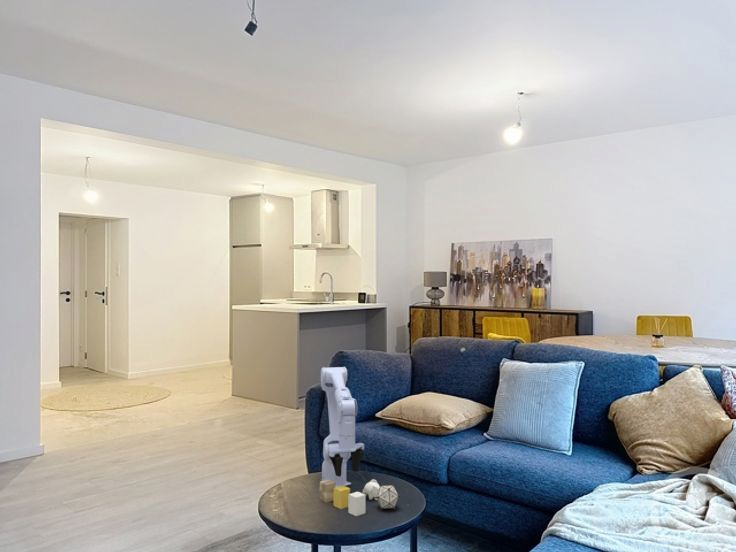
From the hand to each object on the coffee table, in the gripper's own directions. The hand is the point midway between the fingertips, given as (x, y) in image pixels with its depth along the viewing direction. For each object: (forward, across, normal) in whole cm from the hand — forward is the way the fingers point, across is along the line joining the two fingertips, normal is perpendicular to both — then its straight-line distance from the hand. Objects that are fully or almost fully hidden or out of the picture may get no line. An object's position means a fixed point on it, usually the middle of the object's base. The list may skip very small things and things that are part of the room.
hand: (346, 473), depth 197 cm
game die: (+10, +6, -15) cm, 18 cm away
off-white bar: (+9, -4, -11) cm, 15 cm away
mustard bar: (+9, -4, -3) cm, 11 cm away
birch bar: (+9, -4, +5) cm, 12 cm away
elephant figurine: (+10, +8, -5) cm, 13 cm away
